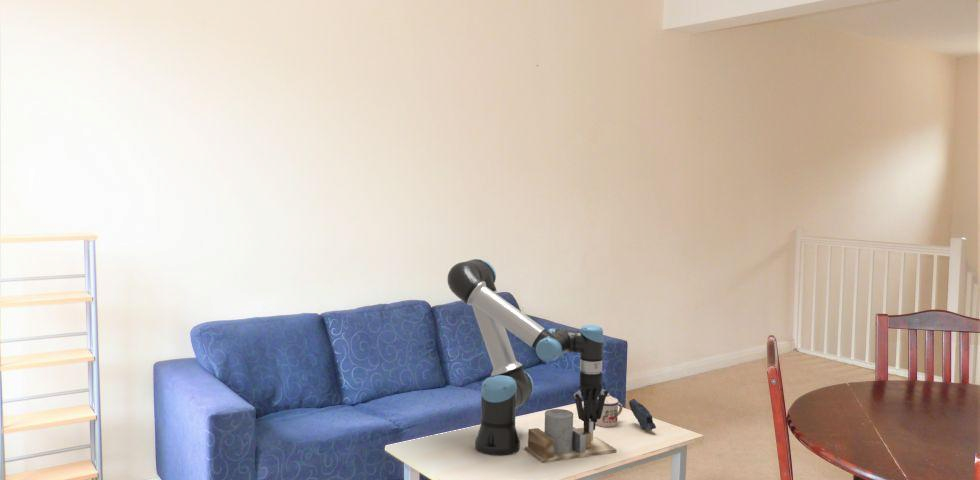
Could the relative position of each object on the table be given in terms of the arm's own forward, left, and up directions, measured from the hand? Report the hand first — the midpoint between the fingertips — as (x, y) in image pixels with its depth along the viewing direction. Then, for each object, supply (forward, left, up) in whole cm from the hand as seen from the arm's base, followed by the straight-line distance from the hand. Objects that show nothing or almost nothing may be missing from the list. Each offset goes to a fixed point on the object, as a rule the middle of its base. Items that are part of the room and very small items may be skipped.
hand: (589, 439), depth 263 cm
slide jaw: (-4, 0, -2) cm, 4 cm away
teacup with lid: (+21, +21, -3) cm, 30 cm away
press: (-7, 0, -3) cm, 8 cm away
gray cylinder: (-12, 0, -2) cm, 12 cm away
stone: (+29, +11, -3) cm, 31 cm away
